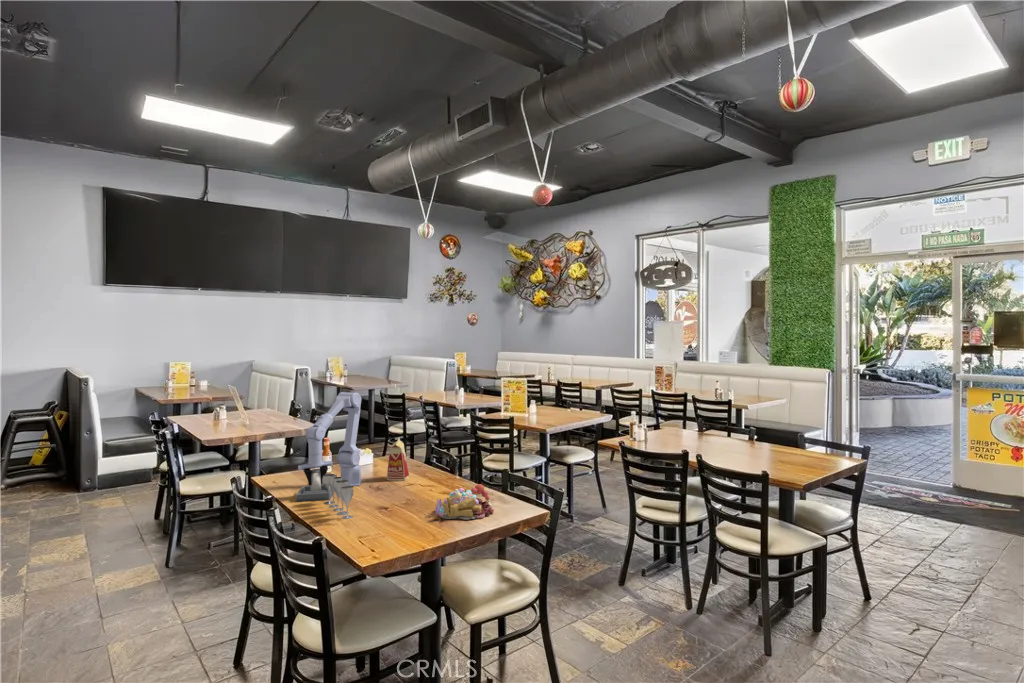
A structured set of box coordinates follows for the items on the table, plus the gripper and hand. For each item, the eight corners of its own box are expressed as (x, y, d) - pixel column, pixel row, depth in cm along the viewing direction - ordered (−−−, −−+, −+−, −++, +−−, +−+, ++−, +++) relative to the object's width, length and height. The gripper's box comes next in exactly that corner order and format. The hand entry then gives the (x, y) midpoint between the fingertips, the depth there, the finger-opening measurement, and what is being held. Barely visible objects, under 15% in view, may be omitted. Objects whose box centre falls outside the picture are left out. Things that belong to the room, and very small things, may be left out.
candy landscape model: (497, 520, 211) (497, 496, 211) (436, 523, 207) (436, 499, 207) (489, 500, 235) (489, 479, 235) (434, 503, 232) (434, 482, 231)
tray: (334, 490, 250) (334, 484, 250) (329, 499, 237) (329, 493, 237) (302, 492, 248) (302, 485, 248) (296, 501, 234) (295, 494, 234)
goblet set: (356, 517, 214) (356, 483, 214) (342, 520, 211) (341, 486, 210) (334, 500, 237) (333, 469, 236) (320, 502, 233) (320, 471, 233)
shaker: (319, 488, 246) (318, 468, 246) (322, 490, 242) (322, 469, 242) (308, 490, 243) (308, 469, 243) (312, 492, 239) (311, 471, 239)
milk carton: (392, 476, 276) (392, 436, 276) (409, 476, 275) (409, 437, 275) (385, 480, 267) (385, 440, 267) (403, 481, 266) (403, 440, 266)
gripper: (329, 450, 250) (329, 479, 250) (296, 454, 241) (296, 484, 242) (333, 452, 244) (334, 482, 244) (300, 457, 236) (300, 488, 236)
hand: (315, 484), depth 242 cm, fingers closed on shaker, 4 cm apart
